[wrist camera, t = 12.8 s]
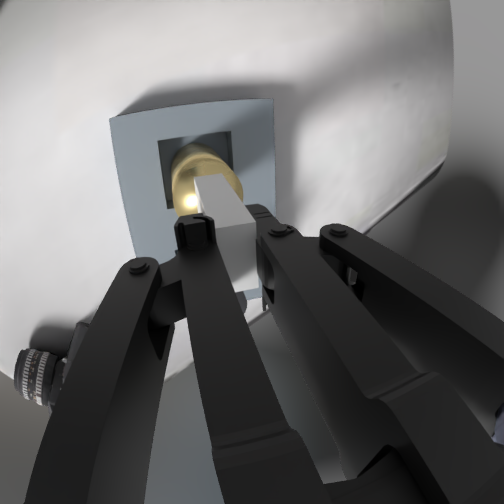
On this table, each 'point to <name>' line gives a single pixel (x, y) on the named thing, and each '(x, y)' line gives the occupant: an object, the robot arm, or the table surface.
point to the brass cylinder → (193, 165)
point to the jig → (165, 147)
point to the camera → (45, 371)
